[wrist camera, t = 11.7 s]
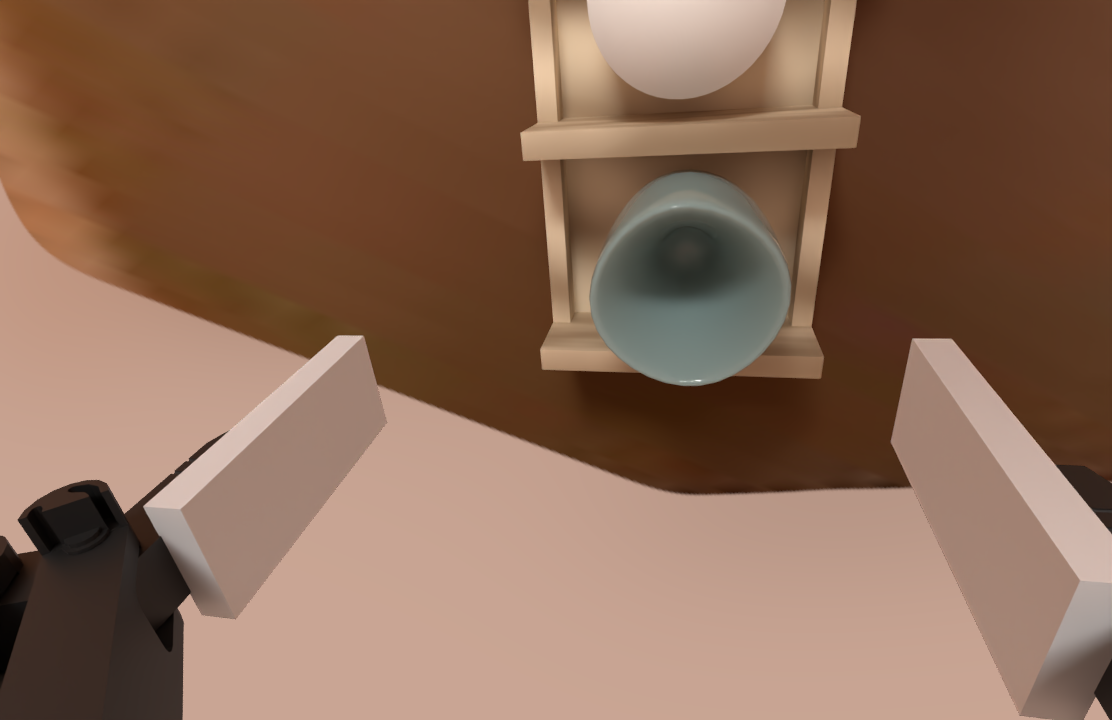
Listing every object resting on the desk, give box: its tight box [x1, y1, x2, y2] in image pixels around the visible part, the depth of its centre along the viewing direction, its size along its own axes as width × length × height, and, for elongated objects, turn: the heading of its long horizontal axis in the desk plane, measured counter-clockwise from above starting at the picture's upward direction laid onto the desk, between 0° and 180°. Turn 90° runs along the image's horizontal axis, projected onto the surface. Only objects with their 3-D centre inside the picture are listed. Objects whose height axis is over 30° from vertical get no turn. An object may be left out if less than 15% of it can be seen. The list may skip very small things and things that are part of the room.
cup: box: [589, 169, 792, 386], centre depth 28 cm, size 8×8×10 cm
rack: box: [521, 0, 861, 379], centre depth 28 cm, size 23×14×6 cm, turn 4°
